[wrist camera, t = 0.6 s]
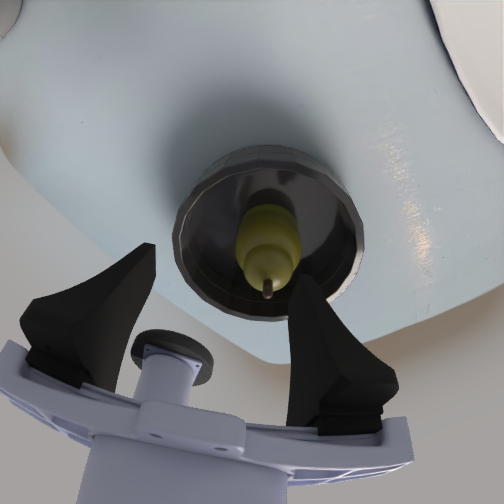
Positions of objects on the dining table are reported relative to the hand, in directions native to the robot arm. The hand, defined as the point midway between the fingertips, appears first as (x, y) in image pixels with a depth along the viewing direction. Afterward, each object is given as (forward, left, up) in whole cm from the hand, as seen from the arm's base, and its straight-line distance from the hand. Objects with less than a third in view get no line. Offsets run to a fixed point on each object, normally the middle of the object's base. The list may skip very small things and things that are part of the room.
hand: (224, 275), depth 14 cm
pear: (-1, -3, -8) cm, 9 cm away
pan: (-1, -3, -9) cm, 10 cm away
